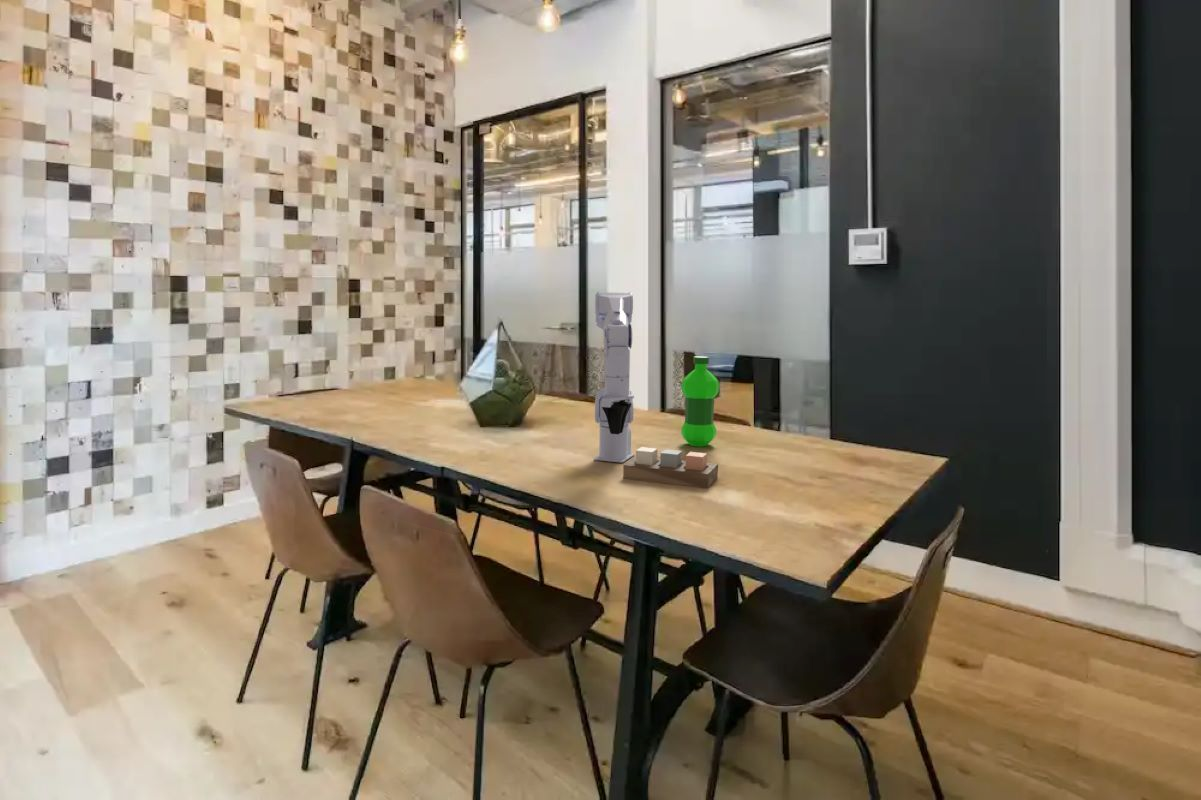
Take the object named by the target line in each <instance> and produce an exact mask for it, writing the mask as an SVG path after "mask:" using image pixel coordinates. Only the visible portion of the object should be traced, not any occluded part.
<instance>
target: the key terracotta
mask: <svg viewBox="0 0 1201 800" xmlns="http://www.w3.org/2000/svg"><path fill="white" fill-rule="evenodd" d="M685 461H686V464H685V469H692V470H702V471H704V470H705V469H707V463H708V453H707V452H696V451H689V452H688V453H687V454H686V455H685Z"/></svg>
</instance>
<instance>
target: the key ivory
mask: <svg viewBox="0 0 1201 800" xmlns="http://www.w3.org/2000/svg"><path fill="white" fill-rule="evenodd" d="M635 457H636V464H645V465H655V464H656V463H657V458H658V448H655V447H654V448H653V447H646V446H641V447H639V448H638V449H636V450H635Z"/></svg>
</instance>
